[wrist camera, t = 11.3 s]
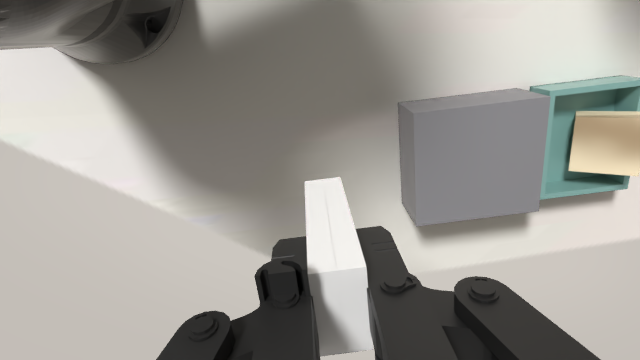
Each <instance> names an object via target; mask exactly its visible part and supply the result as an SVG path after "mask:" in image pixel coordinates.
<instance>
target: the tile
mask: <svg viewBox="0 0 640 360" xmlns="http://www.w3.org/2000/svg"><path fill="white" fill-rule="evenodd" d="M568 171H576V172H589V173H601V174H614V175H627V176H639V172H640V111H576V114H575V122H574V129H573V136H572V144H571V151H570V159H569V170H568Z"/></svg>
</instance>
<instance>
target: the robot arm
mask: <svg viewBox="0 0 640 360" xmlns="http://www.w3.org/2000/svg"><path fill="white" fill-rule="evenodd" d="M182 1H183V0H0V50H3V49H22V48H41V47H52V48H54V49H57V50H58V51H60V52H62V53H64V54H66V55H69V56H71V57H73V58H76V59H79V60H83V61H87V62H92V63H99V64H115V63H122V62H129V61H133V60H137V59H140V58H142V57H144V56H147V55H148V54H150V53H152V52H153V51H155V50H156V49H157V48H159V47H160V46H161V45H162V44H163V43H164V42H165V41H166V40H167V38H168V37H169V36H170V34H171V33H172V31H173V29H174V27H175V25H176V23H177V21H178V18H179V15H180V11H181V7H182ZM305 210H306V236H305V237H297V238H289V239H281V240H279V241H278V243H277V244H276V245H275V246H274V247H273V251H272V259H271V261H270V262H268V263H266V264H264V265H263V266H262V267H261V268H259V269H258V270H257V272H256V274H255V280H256V285H257V290H258V295H259V300H260V307H259V308H258V309H256V310H255V311H253V312H252V313H250V314H247V315H245V316H243V317H240V318H237V319H235V320H232V321H230V318H229V316H227V315H226V314H225V313H223V312H218V311H209V312H203V313H201V314H198V315H195V316H193V317H192V318H190V319H188V320H187V321H185V323H183V324H182V326H181V327H180V328H179V329H178V330H177V332H176V333H175V334H174V336H173V337H172V338H171V340H170V341H169V343H168V344H167V346H166V347H165V348H164V350H163V351H162V352H161V354H160V355H159V357H158V358H157V359H156V360H320V356H326V355H334V354H342V353H350V352H358V351H366V350H373V345H374V349H375V360H600V359H599V358H598V357H596V356H595V355H594V354H593V353H591V352H590V351H589V350H587V349H586V348H585V347H584V346H583V345H581V344H580V343H579V342H577V341H576V340H575V339H574V338H572V337H571V336H570V335H568V334H567V333H566V332H565V331H563V330H562V329H561V328H559V327H558V326H557V325H556V324H554V323H553V322H552V321H551V320H549V319H548V318H547V317H545V316H544V315H543V314H541V313H540V312H539V311H538V310H536V309H535V308H534V307H533V306H531V305H530V304H529V303H528V302H526V301H525V300H524V299H522V298H521V297H520V296H519V295H517V294H516V293H515V292H513V291H512V290H511V289H510V288H508V287H507V286H506V285H504V284H502V283H500V282H499V281H496V280H494V279H490V278H487V277H477V276H475V277H468V278H464V279H462V280H460V281H459V282H458V283H457V284H456V286H455V287H454V292H452V291H441V290H434V289H430V288H426V287H423V286H422V285H421V283H420V281H419V280H418V279H417V278H416V277H415V276H413V275H412V274H410V273H408V270H407V268H406V266H405V264H404V262H403V260H402V257H401V255H400V253H399V251H398V250H397V246H396V244H395V243H394V240H393V238H392V236H391V233H390V232H389V231H387V230H386V229H384V228H383V227H382V226H377V227H369V228H361V229H355V226H354V222H353V219H352V215H351V212H350V208H349V205H348V201H347V198H346V195H345V191H344V188H343V184H342V181H341V177H335V178H327V179H319V180H311V181H305Z"/></svg>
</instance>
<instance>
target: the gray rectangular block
mask: <svg viewBox="0 0 640 360" xmlns="http://www.w3.org/2000/svg"><path fill="white" fill-rule="evenodd" d="M550 99H551V96H547V95H543V94H538V93H534V92H530V91H526V90H522V89H518V88H515V89H506V90H498V91H490V92H482V93H474V94H466V95H458V96H449V97H441V98H433V99H425V100H417V101H409V102H400V103H398V115H399V140H400V166H401V192H402V204H403V206H404V207H405V209H406V210H407V212H408V214H409V215H410V217H411V219H412V220H413V222H414V223H415V225H416V226H424V225H432V224H440V223H448V222H456V221H464V220H472V219H480V218H488V217H496V216H504V215H512V214H520V213H528V212H536V211H539V203H540V194H541V184H542V175H543V165H544V156H545V146H546V137H547V127H548V118H549V108H550Z"/></svg>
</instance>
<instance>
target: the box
mask: <svg viewBox="0 0 640 360" xmlns="http://www.w3.org/2000/svg"><path fill="white" fill-rule="evenodd" d="M530 92H534V93H538V94H543V95H547V96H551V99H550V108H549V118H548V127H547V137H546V146H545V156H544V165H543V175H542V184H541V194H540V200H541V199H549V198H557V197H565V196H573V195H581V194H589V193H597V192H605V191H613V190H622V189H627V188H628V183H629V178H630V176H627V175H614V174H601V173H589V172H576V171H568V170H569V159H570V151H571V144H572V136H573V129H574V122H575V114H576V111H640V78H638V77H630V76H612V77H604V78H596V79H588V80H580V81H572V82H564V83H555V84H547V85H539V86H531V87H530Z"/></svg>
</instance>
